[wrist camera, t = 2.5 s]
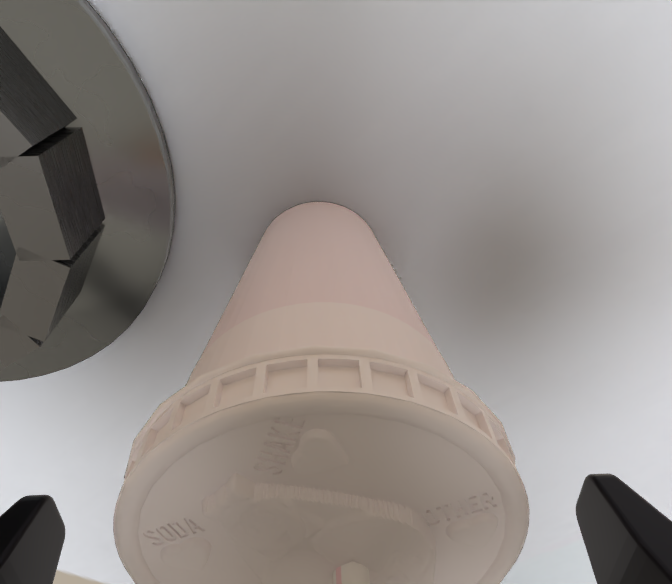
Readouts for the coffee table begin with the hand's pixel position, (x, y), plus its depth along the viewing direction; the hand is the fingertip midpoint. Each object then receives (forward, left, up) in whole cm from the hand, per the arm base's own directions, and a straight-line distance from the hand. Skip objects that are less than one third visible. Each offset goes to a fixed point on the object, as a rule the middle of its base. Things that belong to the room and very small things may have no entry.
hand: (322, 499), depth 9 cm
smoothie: (0, 0, -9) cm, 9 cm away
